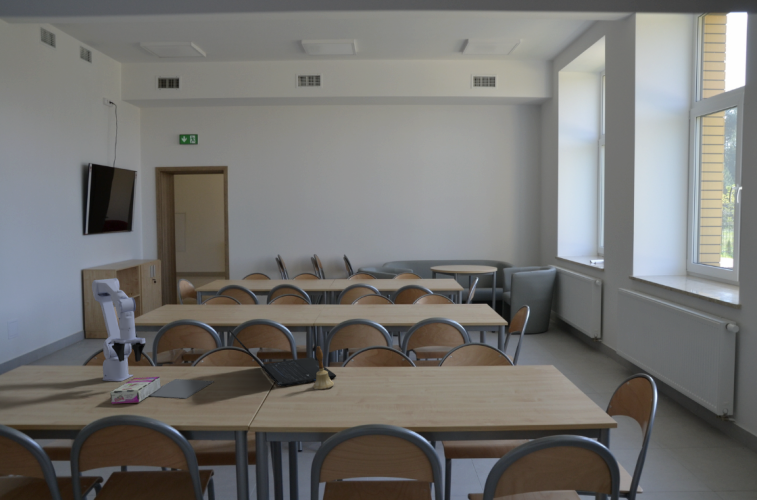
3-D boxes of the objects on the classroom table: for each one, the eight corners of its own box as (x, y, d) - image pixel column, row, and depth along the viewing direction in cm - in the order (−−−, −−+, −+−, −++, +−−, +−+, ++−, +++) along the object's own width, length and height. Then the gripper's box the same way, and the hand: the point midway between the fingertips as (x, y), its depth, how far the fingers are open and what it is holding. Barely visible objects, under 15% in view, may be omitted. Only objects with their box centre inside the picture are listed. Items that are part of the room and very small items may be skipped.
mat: (144, 396, 207) (144, 395, 207) (175, 379, 226) (175, 378, 226) (185, 398, 203) (185, 397, 203) (214, 381, 222) (214, 380, 222)
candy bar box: (135, 390, 216) (110, 404, 199) (134, 377, 215) (109, 391, 199) (161, 388, 214) (139, 402, 198) (160, 376, 214) (137, 389, 198)
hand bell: (334, 387, 209) (329, 347, 207) (313, 390, 208) (307, 350, 206) (333, 380, 217) (328, 342, 216) (313, 383, 216) (308, 345, 215)
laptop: (337, 379, 221) (335, 333, 220) (244, 395, 206) (242, 345, 204) (312, 360, 252) (311, 319, 250) (230, 372, 236) (228, 328, 235)
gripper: (104, 330, 216) (107, 363, 217) (136, 329, 213) (138, 363, 213) (117, 326, 223) (119, 359, 224) (147, 326, 220) (150, 359, 220)
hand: (129, 361), depth 219 cm, fingers open, 7 cm apart
